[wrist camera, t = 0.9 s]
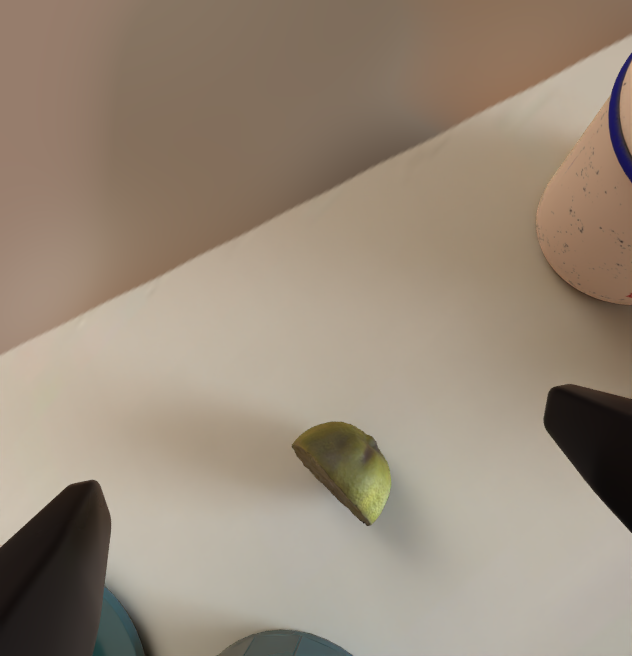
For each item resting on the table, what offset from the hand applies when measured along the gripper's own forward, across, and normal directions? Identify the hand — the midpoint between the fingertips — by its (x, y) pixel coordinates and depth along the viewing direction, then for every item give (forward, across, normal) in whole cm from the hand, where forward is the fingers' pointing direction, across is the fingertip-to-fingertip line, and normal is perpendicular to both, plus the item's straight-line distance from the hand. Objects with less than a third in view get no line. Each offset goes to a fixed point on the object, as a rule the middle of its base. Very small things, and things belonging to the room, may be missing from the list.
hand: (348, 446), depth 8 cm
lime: (+10, -3, +10) cm, 15 cm away
